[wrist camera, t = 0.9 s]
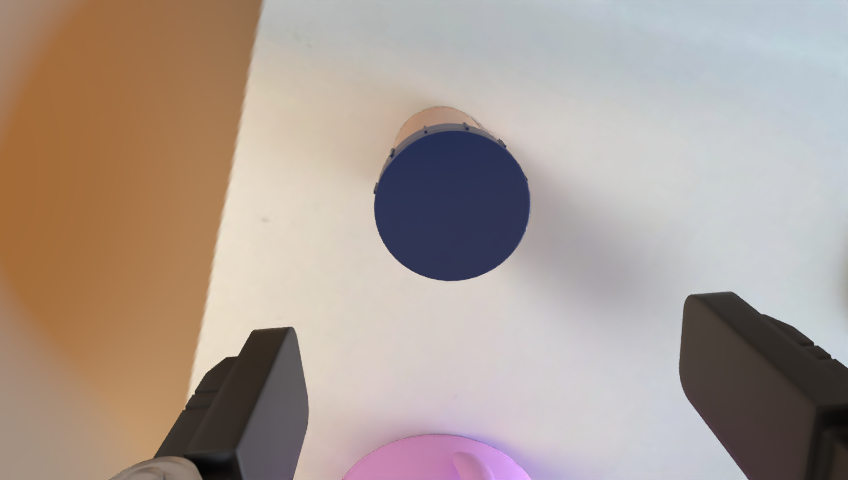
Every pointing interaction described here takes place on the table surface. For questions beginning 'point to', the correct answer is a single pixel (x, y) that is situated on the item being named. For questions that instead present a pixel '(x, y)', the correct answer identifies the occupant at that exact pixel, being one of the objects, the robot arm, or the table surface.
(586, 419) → the table surface
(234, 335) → the table surface
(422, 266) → the lid
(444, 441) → the teapot
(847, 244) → the table surface
